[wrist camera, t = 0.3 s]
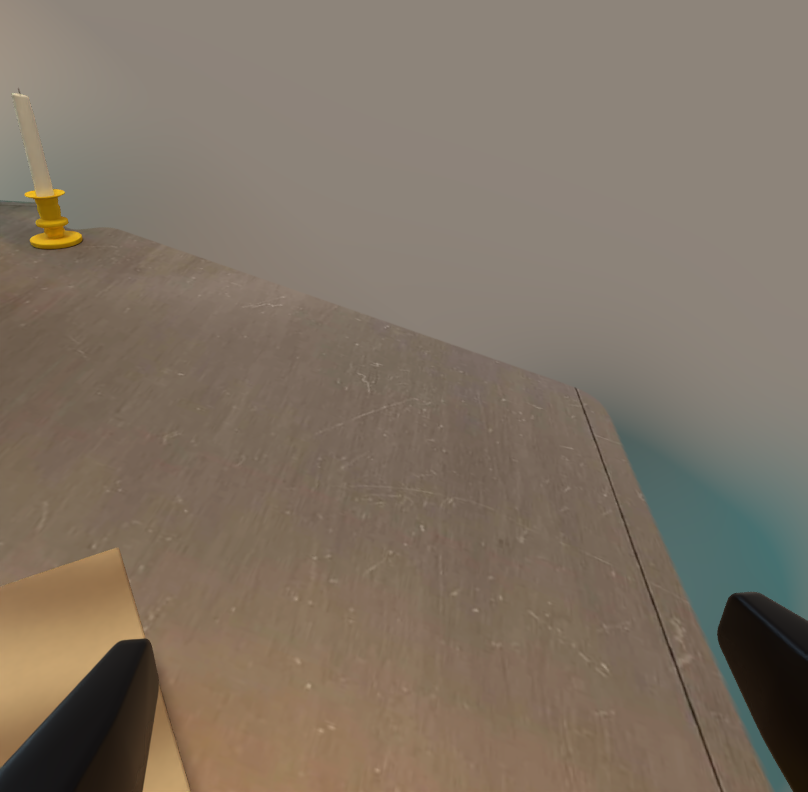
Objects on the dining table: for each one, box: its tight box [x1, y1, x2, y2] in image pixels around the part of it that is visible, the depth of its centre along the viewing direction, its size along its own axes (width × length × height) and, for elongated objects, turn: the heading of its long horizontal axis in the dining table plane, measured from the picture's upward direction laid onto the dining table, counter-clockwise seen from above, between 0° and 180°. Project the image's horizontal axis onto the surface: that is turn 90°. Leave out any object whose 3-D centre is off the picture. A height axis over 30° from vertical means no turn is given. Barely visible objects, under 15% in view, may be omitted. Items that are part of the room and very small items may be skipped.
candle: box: [12, 89, 83, 249], centre depth 65 cm, size 5×5×16 cm
